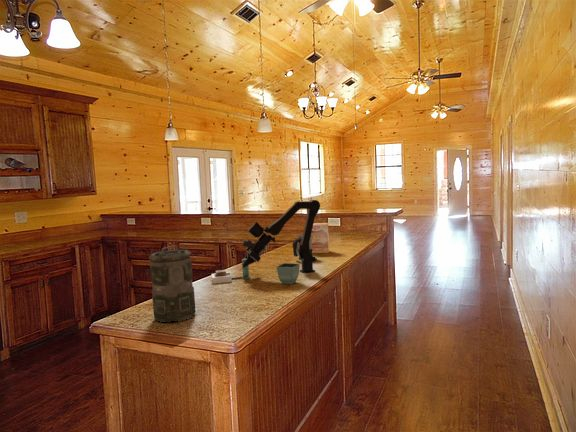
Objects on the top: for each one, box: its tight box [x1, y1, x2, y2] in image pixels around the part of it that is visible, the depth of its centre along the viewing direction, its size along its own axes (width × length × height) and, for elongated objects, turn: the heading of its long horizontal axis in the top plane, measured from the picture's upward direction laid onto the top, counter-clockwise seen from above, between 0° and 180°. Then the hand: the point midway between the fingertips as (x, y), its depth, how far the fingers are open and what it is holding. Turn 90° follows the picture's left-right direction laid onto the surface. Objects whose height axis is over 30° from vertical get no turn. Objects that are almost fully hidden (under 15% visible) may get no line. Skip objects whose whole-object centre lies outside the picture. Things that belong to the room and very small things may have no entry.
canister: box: [148, 244, 197, 323], centre depth 166 cm, size 16×16×28 cm
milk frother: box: [292, 234, 318, 262], centre depth 264 cm, size 14×16×15 cm
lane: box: [211, 271, 233, 284], centre depth 223 cm, size 10×10×3 cm
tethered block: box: [215, 258, 251, 280], centre depth 224 cm, size 18×5×10 cm, turn 101°
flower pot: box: [276, 262, 300, 285], centre depth 209 cm, size 9×9×9 cm
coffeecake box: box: [311, 222, 330, 254], centre depth 287 cm, size 15×7×20 cm, turn 81°
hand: (242, 265), depth 225 cm, fingers open, 4 cm apart
